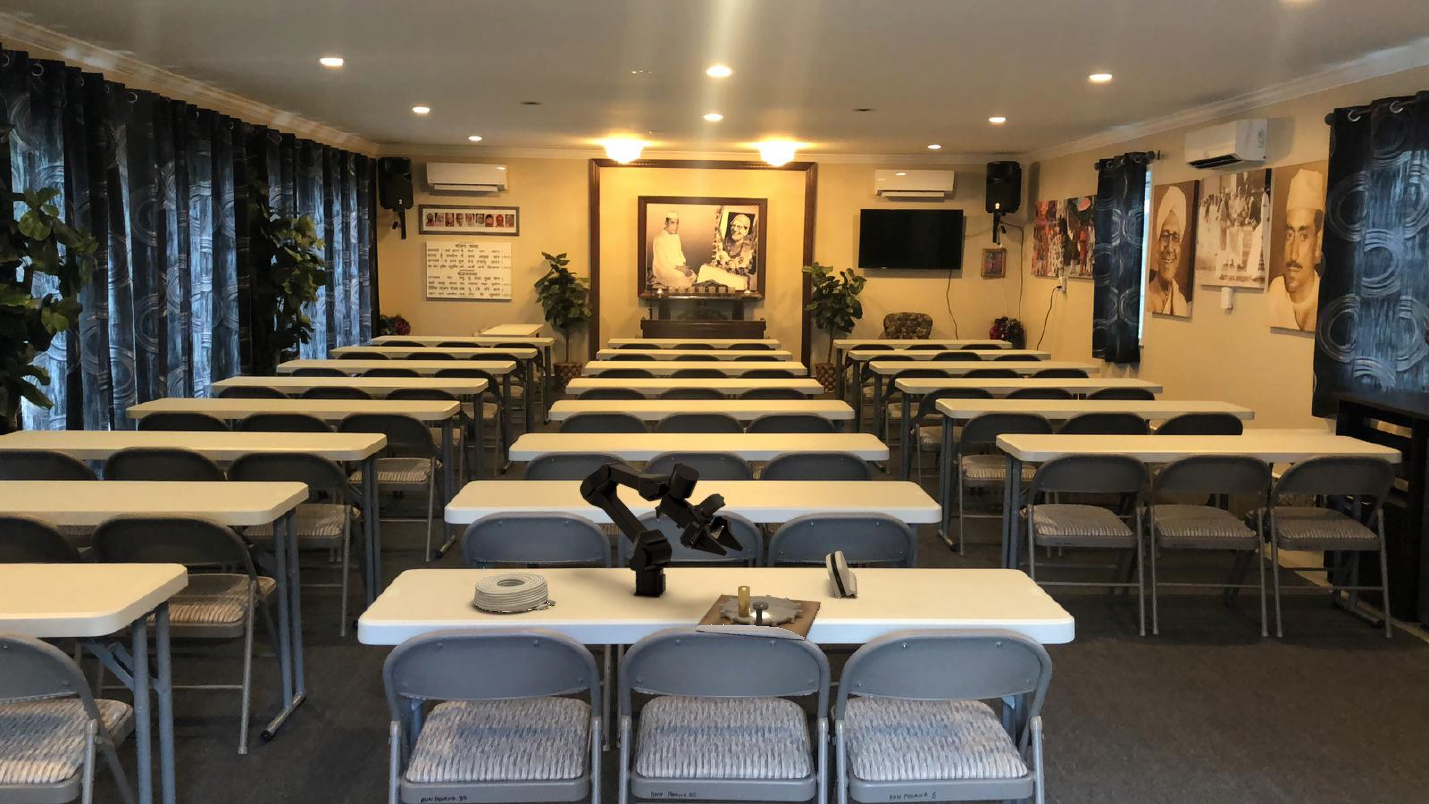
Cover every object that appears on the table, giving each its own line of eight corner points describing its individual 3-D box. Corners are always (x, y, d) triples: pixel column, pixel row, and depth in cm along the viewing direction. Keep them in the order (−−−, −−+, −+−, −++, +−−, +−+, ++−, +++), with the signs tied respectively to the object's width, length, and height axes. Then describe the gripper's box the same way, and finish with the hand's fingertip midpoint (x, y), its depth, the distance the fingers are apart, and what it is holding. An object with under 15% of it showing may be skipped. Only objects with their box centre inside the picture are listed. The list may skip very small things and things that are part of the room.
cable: (559, 608, 250) (559, 583, 250) (487, 621, 242) (487, 595, 241) (533, 589, 265) (532, 565, 264) (464, 600, 256) (463, 576, 256)
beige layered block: (857, 599, 256) (844, 560, 255) (839, 604, 256) (825, 566, 256) (856, 579, 272) (843, 542, 271) (838, 584, 273) (825, 548, 272)
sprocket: (709, 623, 235) (708, 589, 234) (728, 597, 253) (728, 565, 252) (795, 629, 230) (795, 595, 229) (808, 602, 249) (809, 570, 248)
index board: (695, 631, 233) (695, 604, 233) (721, 598, 256) (721, 573, 256) (804, 640, 228) (804, 612, 227) (820, 605, 251) (820, 580, 250)
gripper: (682, 486, 240) (735, 526, 234) (716, 482, 257) (767, 519, 251) (658, 527, 242) (710, 567, 236) (694, 520, 259) (743, 558, 253)
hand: (734, 552), depth 244 cm, fingers open, 9 cm apart
